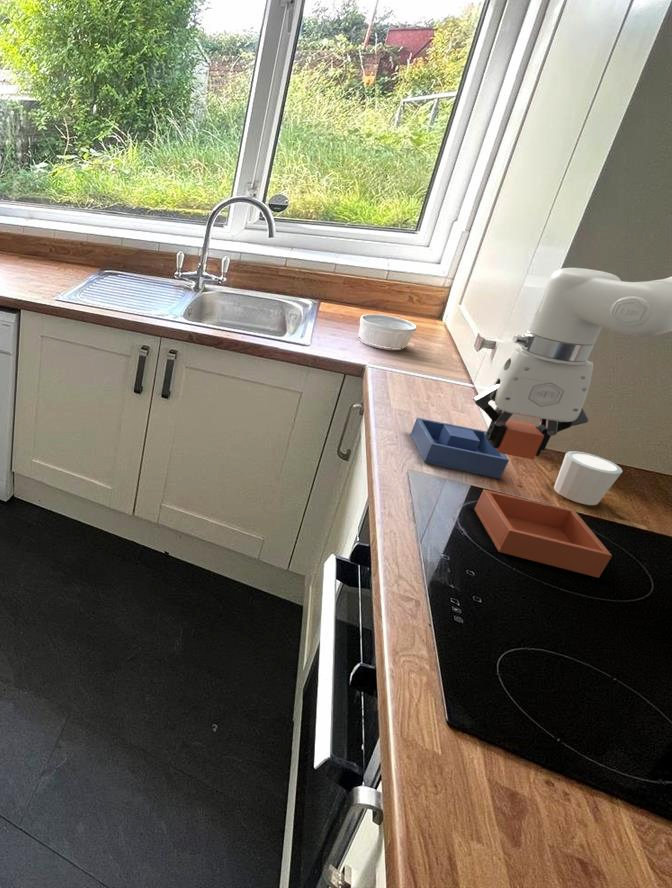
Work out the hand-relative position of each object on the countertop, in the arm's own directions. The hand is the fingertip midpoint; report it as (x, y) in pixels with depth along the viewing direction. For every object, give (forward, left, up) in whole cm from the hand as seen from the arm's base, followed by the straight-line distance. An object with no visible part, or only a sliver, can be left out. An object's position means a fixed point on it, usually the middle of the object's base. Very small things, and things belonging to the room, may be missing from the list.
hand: (512, 447), depth 98 cm
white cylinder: (+7, -14, -10) cm, 18 cm away
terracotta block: (0, 0, -1) cm, 1 cm away
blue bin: (+12, +2, -10) cm, 16 cm away
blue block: (+12, +2, -9) cm, 16 cm away
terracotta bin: (-13, -2, -10) cm, 16 cm away
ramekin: (+78, +3, -10) cm, 79 cm away
